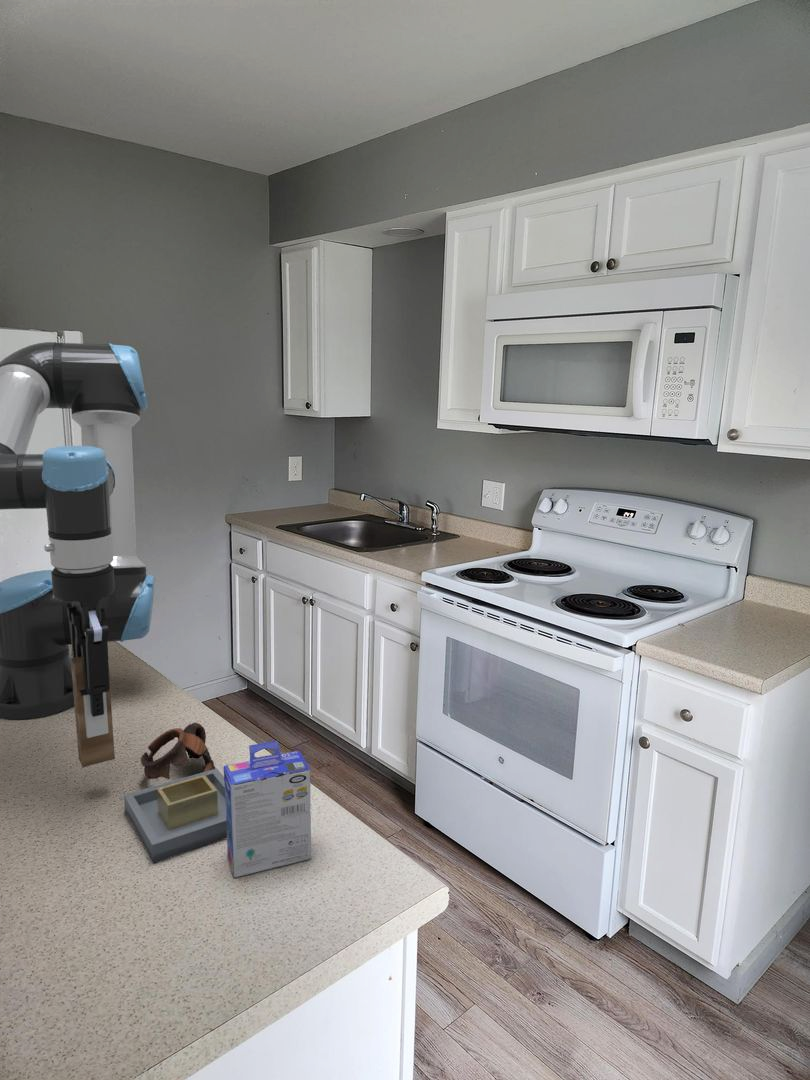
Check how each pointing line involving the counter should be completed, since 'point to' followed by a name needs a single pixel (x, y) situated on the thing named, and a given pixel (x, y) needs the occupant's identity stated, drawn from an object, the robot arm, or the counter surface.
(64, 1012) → the counter surface
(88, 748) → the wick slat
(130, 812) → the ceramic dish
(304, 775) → the ink cartridge box
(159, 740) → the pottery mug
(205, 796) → the tan hollow wooden box
